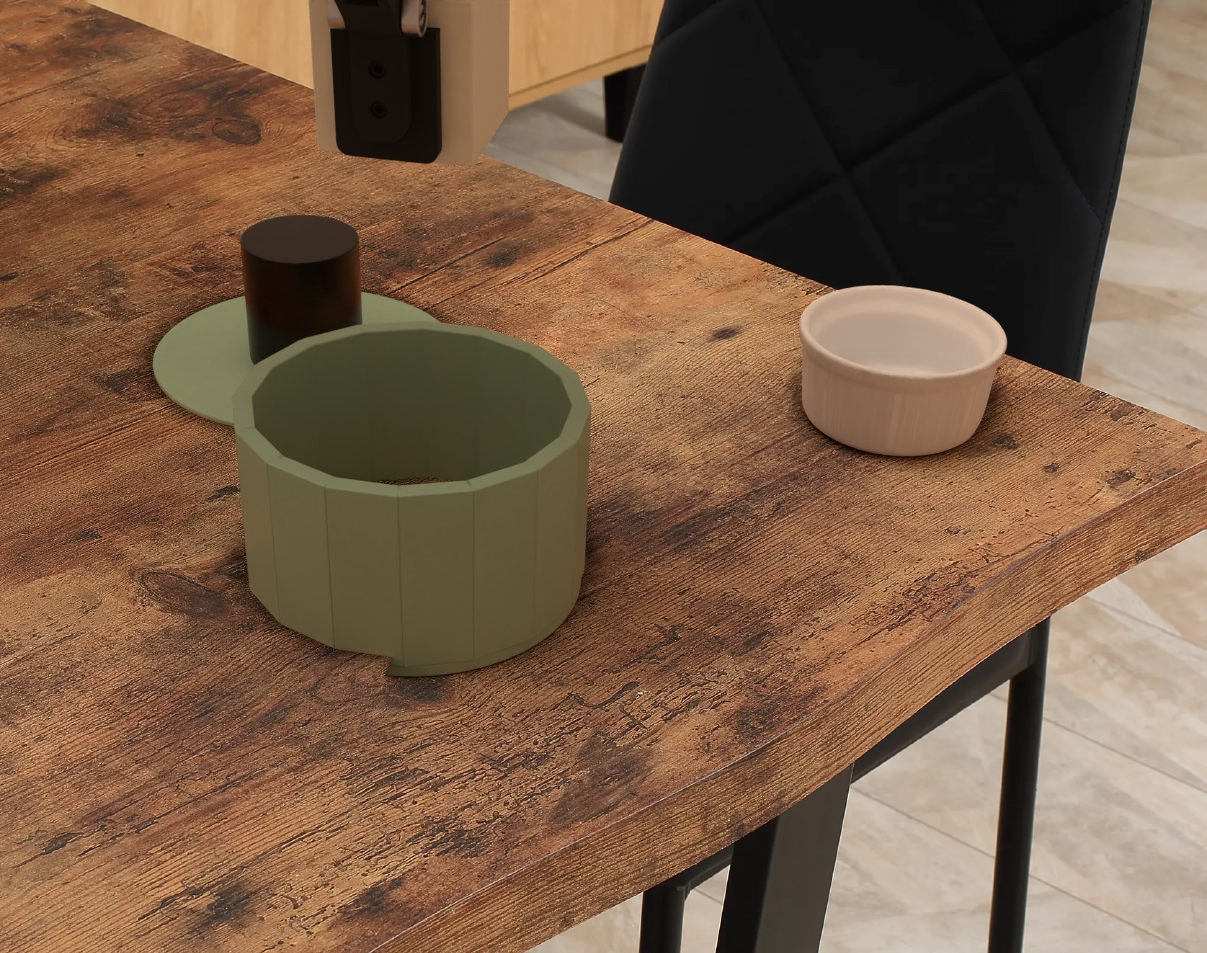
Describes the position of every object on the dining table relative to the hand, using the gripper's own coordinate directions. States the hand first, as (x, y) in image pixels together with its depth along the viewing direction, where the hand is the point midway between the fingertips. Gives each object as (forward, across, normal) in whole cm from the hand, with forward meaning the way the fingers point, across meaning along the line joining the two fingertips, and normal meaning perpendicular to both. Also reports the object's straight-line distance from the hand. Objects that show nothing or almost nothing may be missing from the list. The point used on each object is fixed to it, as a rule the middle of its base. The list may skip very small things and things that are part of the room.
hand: (414, 118), depth 55 cm
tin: (+18, 0, 0) cm, 18 cm away
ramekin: (+18, -16, +17) cm, 30 cm away
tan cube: (0, 0, 0) cm, 0 cm away
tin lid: (+17, -14, -9) cm, 23 cm away
